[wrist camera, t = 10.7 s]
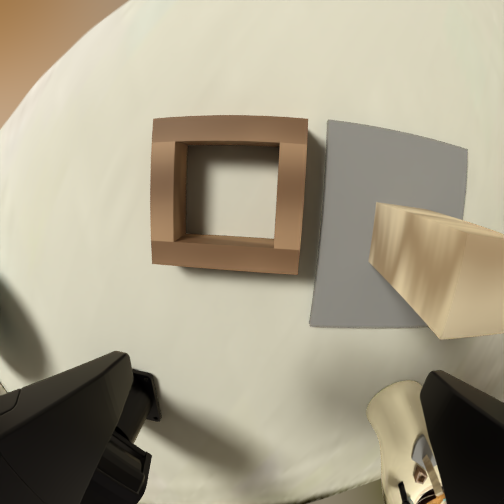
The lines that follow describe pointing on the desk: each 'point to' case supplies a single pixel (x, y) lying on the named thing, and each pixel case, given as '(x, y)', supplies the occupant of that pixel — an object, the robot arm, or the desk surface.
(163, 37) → the desk surface
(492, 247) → the peg
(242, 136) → the collar
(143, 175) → the desk surface
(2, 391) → the supplement box
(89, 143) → the desk surface
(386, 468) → the beer glass
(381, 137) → the rubber mat
